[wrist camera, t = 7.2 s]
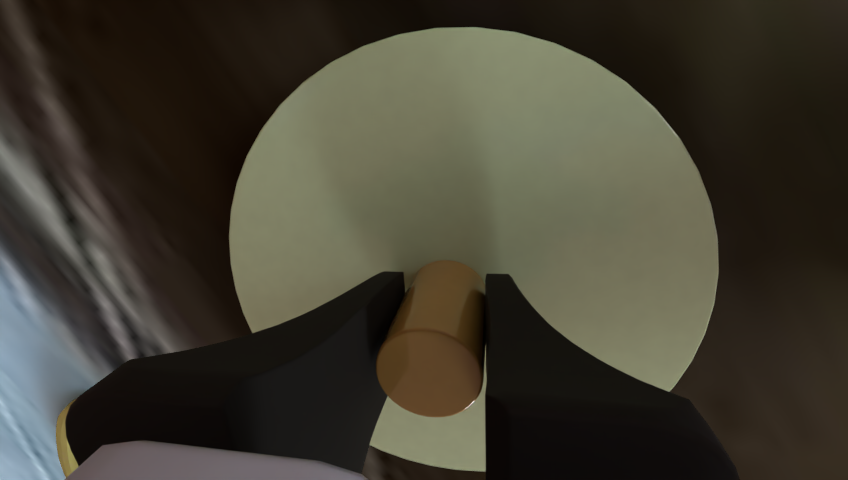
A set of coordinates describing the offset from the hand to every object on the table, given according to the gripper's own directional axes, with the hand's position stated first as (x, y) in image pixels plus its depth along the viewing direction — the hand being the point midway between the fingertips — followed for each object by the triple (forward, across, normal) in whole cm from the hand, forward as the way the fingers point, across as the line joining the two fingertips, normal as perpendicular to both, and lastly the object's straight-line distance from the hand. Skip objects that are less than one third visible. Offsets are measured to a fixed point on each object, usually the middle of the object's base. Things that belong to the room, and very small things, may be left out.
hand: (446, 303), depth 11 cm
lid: (+1, 0, 0) cm, 1 cm away
